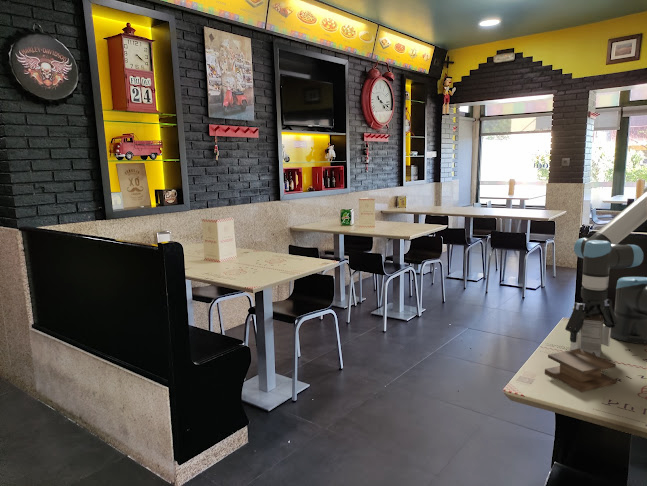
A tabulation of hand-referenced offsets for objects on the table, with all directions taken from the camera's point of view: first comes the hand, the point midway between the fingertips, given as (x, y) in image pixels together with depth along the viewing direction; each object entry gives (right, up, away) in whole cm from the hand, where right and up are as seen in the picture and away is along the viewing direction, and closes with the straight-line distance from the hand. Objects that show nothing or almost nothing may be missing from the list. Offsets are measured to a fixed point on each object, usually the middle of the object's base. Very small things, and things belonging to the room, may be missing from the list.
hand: (589, 348), depth 155 cm
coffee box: (0, -4, +1) cm, 4 cm away
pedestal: (-10, -7, -12) cm, 17 cm away
